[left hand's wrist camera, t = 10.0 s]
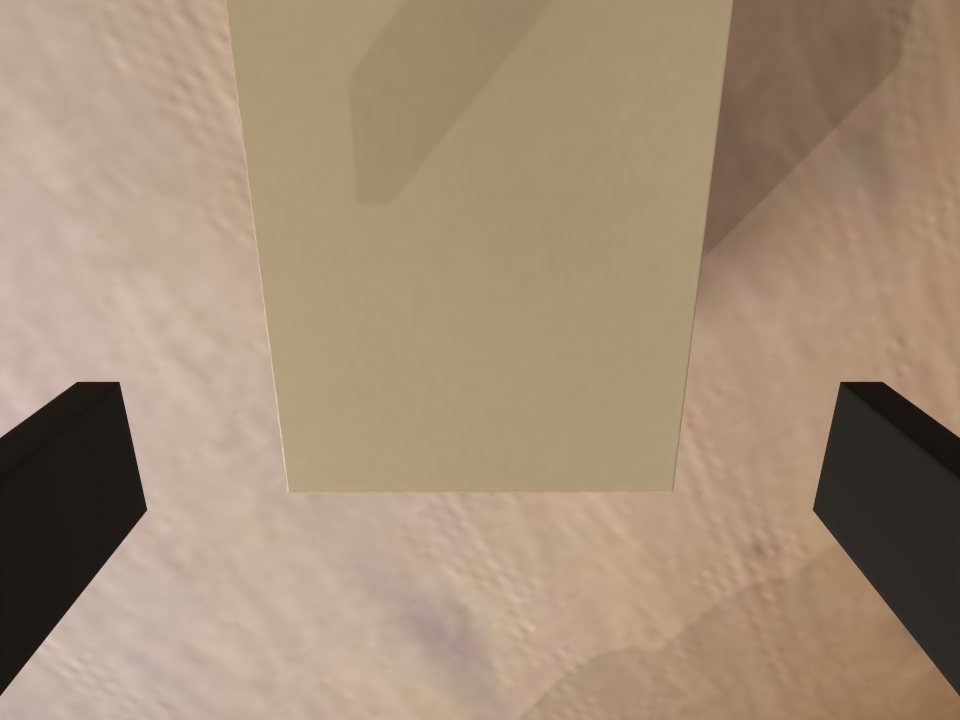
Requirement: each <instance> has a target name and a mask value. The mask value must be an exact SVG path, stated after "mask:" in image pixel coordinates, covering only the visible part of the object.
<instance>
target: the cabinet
mask: <svg viewBox="0 0 960 720" xmlns="http://www.w3.org/2000/svg"><path fill="white" fill-rule="evenodd" d="M224 2H225V10H226V18H227V25H228V33H229V41H230V49H231V56H232V64H233V72H234V80H235V87H236V95H237V103H238V111H239V118H240V126H241V134H242V142H243V149H244V157H245V165H246V173H247V180H248V188H249V196H250V204H251V211H252V219H253V227H254V235H255V242H256V250H257V258H258V266H259V273H260V281H261V289H262V297H263V304H264V312H265V320H266V328H267V335H268V343H269V351H270V359H271V366H272V374H273V382H274V390H275V397H276V405H277V413H278V421H279V428H280V436H281V444H282V452H283V459H284V467H285V475H286V483H287V490H288V492H289V493H463V492H672V491H673V486H674V478H675V470H676V462H677V454H678V446H679V438H680V430H681V422H682V414H683V406H684V398H685V389H686V381H687V373H688V365H689V357H690V349H691V341H692V333H693V325H694V317H695V309H696V301H697V293H698V285H699V277H700V269H701V261H702V253H703V245H704V237H705V229H706V220H707V212H708V204H709V196H710V188H711V180H712V172H713V164H714V156H715V148H716V140H717V132H718V124H719V116H720V108H721V100H722V92H723V84H724V76H725V68H726V59H727V51H728V43H729V35H730V27H731V19H732V11H733V3H734V0H224Z"/></svg>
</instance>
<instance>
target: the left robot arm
mask: <svg viewBox="0 0 960 720" xmlns="http://www.w3.org/2000/svg"><path fill="white" fill-rule="evenodd" d="M146 511H147V507H146V502H145V498H144V493H143V489H142V484H141V479H140V475H139V470H138V465H137V461H136V456H135V452H134V447H133V442H132V438H131V433H130V429H129V424H128V419H127V415H126V410H125V406H124V401H123V396H122V392H121V387H120V382H77V383H75V384H74V385H72V386H71V387H70V388H68V389H67V390H66V391H64V392H63V393H61V394H60V395H59V396H57V397H56V398H55V399H53V400H52V401H50V402H49V403H48V404H46V405H45V406H44V407H42V408H41V409H39V410H38V411H37V412H35V413H34V414H33V415H31V416H30V417H28V418H27V419H26V420H24V421H23V422H22V423H20V424H19V425H17V426H16V427H15V428H13V429H12V430H11V431H9V432H8V433H6V434H5V435H4V436H2V437H1V438H0V696H1V694H2V693H3V692H4V691H5V689H6V688H7V687H8V686H9V684H10V683H11V682H12V680H13V679H14V678H15V677H16V675H17V674H18V673H19V672H20V670H21V669H22V668H23V667H24V665H25V664H26V663H27V661H28V660H29V659H30V658H31V656H32V655H33V654H34V653H35V651H36V650H37V649H38V648H39V646H40V645H41V644H42V642H43V641H44V640H45V639H46V637H47V636H48V635H49V634H50V632H51V631H52V630H53V629H54V627H55V626H56V625H57V624H58V622H59V621H60V620H61V618H62V617H63V616H64V615H65V613H66V612H67V611H68V610H69V608H70V607H71V606H72V605H73V603H74V602H75V601H76V599H77V598H78V597H79V596H80V594H81V593H82V592H83V591H84V589H85V588H86V587H87V586H88V584H89V583H90V582H91V580H92V579H93V578H94V577H95V575H96V574H97V573H98V572H99V570H100V569H101V568H102V567H103V565H104V564H105V563H106V561H107V560H108V559H109V558H110V556H111V555H112V554H113V553H114V551H115V550H116V549H117V548H118V546H119V545H120V544H121V542H122V541H123V540H124V539H125V537H126V536H127V535H128V534H129V532H130V531H131V530H132V529H133V527H134V526H135V525H136V524H137V522H138V521H139V520H140V518H141V517H142V516H143V515H144V513H145V512H146ZM813 511H814V512H815V513H816V515H817V516H818V517H819V518H820V520H821V521H822V522H823V524H824V525H825V526H826V527H827V529H828V530H829V531H830V532H831V534H832V535H833V536H834V537H835V539H836V540H837V541H838V543H839V544H840V545H841V546H842V548H843V549H844V550H845V551H846V553H847V554H848V555H849V556H850V558H851V559H852V560H853V561H854V563H855V564H856V565H857V567H858V568H859V569H860V570H861V572H862V573H863V574H864V575H865V577H866V578H867V579H868V580H869V582H870V583H871V584H872V586H873V587H874V588H875V589H876V591H877V592H878V593H879V594H880V596H881V597H882V598H883V599H884V601H885V602H886V603H887V605H888V606H889V607H890V608H891V610H892V611H893V612H894V613H895V615H896V616H897V617H898V618H899V620H900V621H901V622H902V624H903V625H904V626H905V627H906V629H907V630H908V631H909V632H910V634H911V635H912V636H913V637H914V639H915V640H916V641H917V643H918V644H919V645H920V646H921V648H922V649H923V650H924V651H925V653H926V654H927V655H928V656H929V658H930V659H931V660H932V661H933V663H934V664H935V665H936V667H937V668H938V669H939V670H940V672H941V673H942V674H943V675H944V677H945V678H946V679H947V680H948V682H949V683H950V684H951V686H952V687H953V688H954V689H955V691H956V692H957V693H958V694H959V696H960V438H959V437H958V436H956V435H955V434H954V433H952V432H951V431H949V430H948V429H947V428H945V427H944V426H943V425H941V424H940V423H938V422H937V421H936V420H934V419H933V418H932V417H930V416H929V415H927V414H926V413H925V412H923V411H922V410H921V409H919V408H918V407H916V406H915V405H914V404H912V403H911V402H910V401H908V400H907V399H905V398H904V397H903V396H901V395H900V394H899V393H897V392H896V391H894V390H893V389H892V388H890V387H889V386H888V385H886V384H885V383H883V382H840V387H839V392H838V396H837V401H836V406H835V410H834V415H833V419H832V424H831V429H830V433H829V438H828V442H827V447H826V452H825V456H824V461H823V465H822V470H821V475H820V479H819V484H818V489H817V493H816V498H815V502H814V507H813Z"/></svg>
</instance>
